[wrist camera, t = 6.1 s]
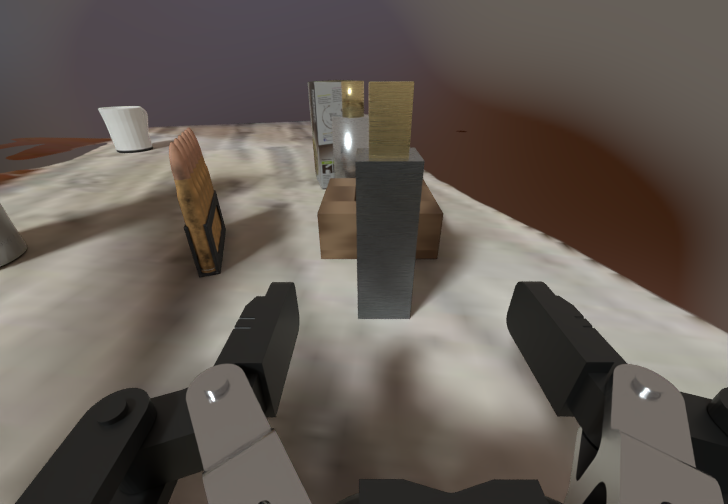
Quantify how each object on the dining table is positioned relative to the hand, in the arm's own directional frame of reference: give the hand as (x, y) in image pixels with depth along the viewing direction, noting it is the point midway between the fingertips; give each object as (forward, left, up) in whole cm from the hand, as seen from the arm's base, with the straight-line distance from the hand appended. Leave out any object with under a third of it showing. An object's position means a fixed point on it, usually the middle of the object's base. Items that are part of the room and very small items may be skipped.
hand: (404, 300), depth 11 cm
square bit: (0, +11, -9) cm, 14 cm away
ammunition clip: (-18, +20, -9) cm, 28 cm away
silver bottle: (-3, +34, -9) cm, 35 cm away
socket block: (0, +24, -9) cm, 26 cm away
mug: (-63, +76, -9) cm, 99 cm away
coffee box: (-7, +46, -9) cm, 47 cm away
